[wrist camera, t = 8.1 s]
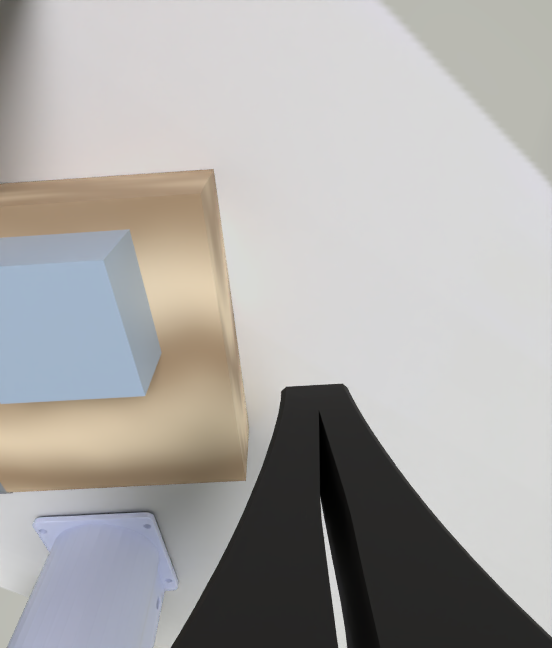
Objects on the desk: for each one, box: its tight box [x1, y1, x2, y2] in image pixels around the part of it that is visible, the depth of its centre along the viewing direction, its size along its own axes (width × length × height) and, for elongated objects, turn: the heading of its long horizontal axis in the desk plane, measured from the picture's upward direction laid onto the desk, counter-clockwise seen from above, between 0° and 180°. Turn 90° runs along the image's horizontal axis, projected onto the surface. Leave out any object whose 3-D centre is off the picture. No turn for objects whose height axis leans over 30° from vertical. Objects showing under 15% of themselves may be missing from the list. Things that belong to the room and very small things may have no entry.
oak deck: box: [0, 169, 249, 492], centre depth 18 cm, size 14×12×4 cm
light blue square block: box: [0, 229, 162, 404], centre depth 14 cm, size 5×5×2 cm
